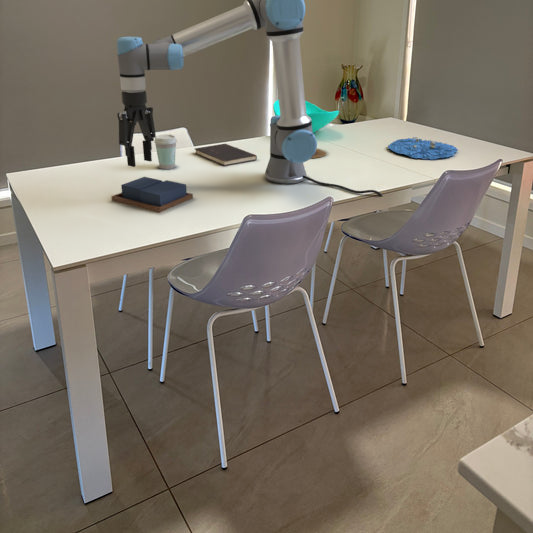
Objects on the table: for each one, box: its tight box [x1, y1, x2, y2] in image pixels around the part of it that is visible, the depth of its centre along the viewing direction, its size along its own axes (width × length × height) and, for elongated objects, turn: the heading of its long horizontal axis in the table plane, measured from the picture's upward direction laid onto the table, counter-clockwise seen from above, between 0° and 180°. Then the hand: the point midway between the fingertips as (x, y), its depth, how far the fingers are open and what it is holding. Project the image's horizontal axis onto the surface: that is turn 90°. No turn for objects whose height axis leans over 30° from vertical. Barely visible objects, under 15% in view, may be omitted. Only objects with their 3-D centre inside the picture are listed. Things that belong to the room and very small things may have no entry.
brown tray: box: [111, 192, 194, 213], centre depth 194 cm, size 21×17×2 cm
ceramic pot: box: [310, 148, 327, 159], centre depth 250 cm, size 18×18×7 cm
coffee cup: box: [153, 134, 178, 170], centre depth 228 cm, size 9×9×12 cm
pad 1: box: [120, 176, 163, 202], centre depth 195 cm, size 8×11×5 cm
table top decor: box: [272, 99, 340, 134], centre depth 284 cm, size 40×28×13 cm
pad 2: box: [140, 179, 188, 207], centre depth 191 cm, size 8×13×5 cm, turn 148°
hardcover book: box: [194, 143, 258, 167], centre depth 244 cm, size 16×23×2 cm
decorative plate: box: [387, 136, 459, 160], centre depth 256 cm, size 30×30×5 cm
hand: (139, 163), depth 191 cm, fingers open, 7 cm apart
